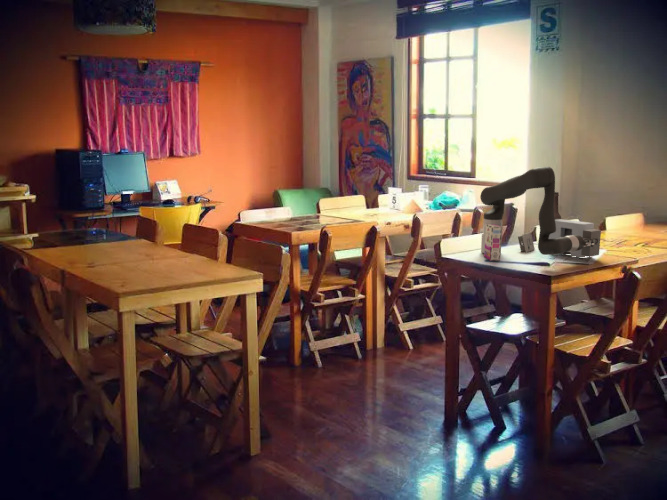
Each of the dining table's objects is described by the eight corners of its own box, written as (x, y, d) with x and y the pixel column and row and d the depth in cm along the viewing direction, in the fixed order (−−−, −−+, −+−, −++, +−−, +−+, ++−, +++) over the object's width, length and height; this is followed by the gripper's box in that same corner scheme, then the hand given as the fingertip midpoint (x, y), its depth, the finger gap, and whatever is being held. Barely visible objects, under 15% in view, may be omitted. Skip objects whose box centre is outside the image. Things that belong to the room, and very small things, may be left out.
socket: (582, 259, 377) (584, 224, 375) (547, 253, 393) (549, 220, 390) (591, 257, 382) (594, 223, 380) (557, 251, 398) (559, 218, 395)
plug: (589, 256, 367) (591, 231, 365) (581, 255, 370) (583, 230, 368) (600, 254, 373) (602, 229, 371) (592, 253, 376) (594, 228, 374)
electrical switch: (527, 252, 396) (526, 234, 395) (517, 252, 399) (517, 234, 398) (535, 250, 403) (534, 232, 402) (525, 250, 406) (524, 232, 405)
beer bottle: (557, 251, 400) (560, 193, 395) (542, 249, 404) (545, 192, 399) (561, 249, 406) (564, 192, 401) (547, 248, 410) (550, 191, 405)
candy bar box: (500, 261, 370) (502, 226, 367) (490, 261, 369) (491, 226, 367) (493, 257, 381) (495, 223, 378) (483, 257, 380) (485, 223, 378)
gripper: (585, 237, 354) (606, 234, 365) (559, 233, 365) (580, 230, 375) (584, 253, 355) (605, 250, 366) (557, 249, 366) (579, 245, 377)
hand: (592, 240), depth 371 cm, fingers closed on plug, 4 cm apart
